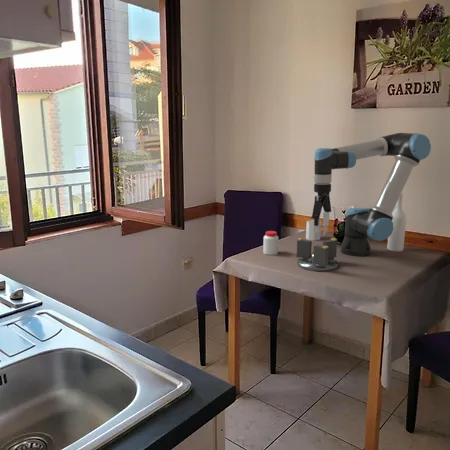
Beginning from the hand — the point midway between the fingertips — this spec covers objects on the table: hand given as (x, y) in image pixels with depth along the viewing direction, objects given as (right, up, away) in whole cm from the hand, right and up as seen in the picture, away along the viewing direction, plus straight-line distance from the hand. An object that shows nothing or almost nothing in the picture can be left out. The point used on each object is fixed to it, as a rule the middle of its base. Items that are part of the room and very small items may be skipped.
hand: (321, 229), depth 210 cm
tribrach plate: (0, -17, +7) cm, 18 cm away
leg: (-1, -17, 0) cm, 17 cm away
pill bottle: (-21, -13, +26) cm, 36 cm away
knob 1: (-6, -15, +10) cm, 19 cm away
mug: (+8, -6, +52) cm, 53 cm away
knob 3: (+6, -15, +10) cm, 18 cm away
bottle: (+45, -11, +31) cm, 56 cm away
